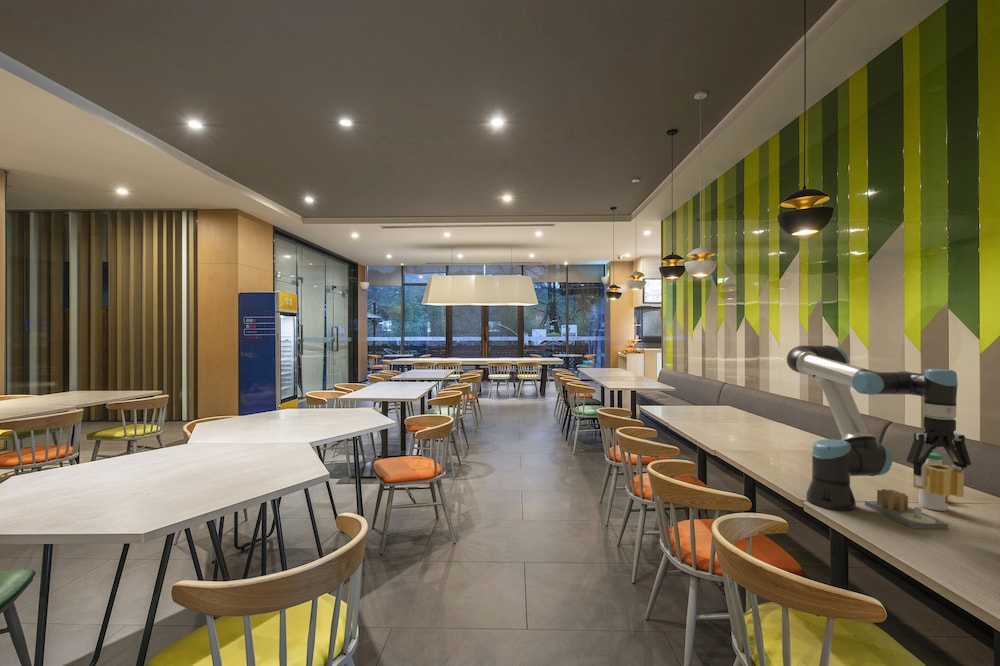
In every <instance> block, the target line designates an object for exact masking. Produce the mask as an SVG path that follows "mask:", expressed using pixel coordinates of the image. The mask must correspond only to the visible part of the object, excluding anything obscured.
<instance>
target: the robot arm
mask: <svg viewBox="0 0 1000 666" xmlns="http://www.w3.org/2000/svg"><path fill="white" fill-rule="evenodd" d="M786 363H787V366H788V368H790V369H791V370H792V371H794V372H796V373H800V374H802V375H812V377H813V379H814V381H816V382H818V383H820V385H821V388H822V391H823V394H824V396H825V398H826V401H827V404H828V405H829V409H830V411H831V414H832V416H833V418H834V421H835V423H836V425H837V428H838V431H839V433H840V436H841V439H831V438H829V439H828V438H827V439H820V440H816V441H815V442H814V443H813V445H812V451H811V455H812V456H811V457H812V458H811V459H812V460H811V461H812V463H811V464H812V465H811V468H812V469H811V473H812V474H811V482H810V484H809V486H808V489H807V490H806V495H805V497H806V501H807V502H809V503H811V504H813V505H816V506H818V507H822V508H825V509H830V510H834V511H853V510H855V509H856V503H857V502H856V499H855V496H854V493H853V491H852V488H851V477H856V476H857V477H860V476H861V477H862V476H864V477H866V476H869V477H876V476H883V475H885V474H887V473H888V472H889V471H890V470H891V467H892V466H893V455H892V453H891V451H890V449H889V447H887V446H885V445H884V444H882V443H879V442H878V440H877V438H876V436H874V435H873V434H870V433H869V431H868V429H867V427H866V425H865V423H864V419H863V417H862V415H861V413H860V410H859V409H858V405H857V404H856V401H855V399H854V397H853V395H852V391H851V390H850V388H849V387H851V388H853V389H854V390H855V391H856V392H857V393H859V394H861V395H862V394H863V395H870V396H873V395H874V396H875V395H910V396H911V395H912V396H918V397H923V415H925V416H923V428H924V432H923V433H919V432H914V434H913V442H912V444H911V447H910V450H909V453H908V455H907V458H906V462H907V463H910V464H912V465H913V476H914V475H915V484H916V485H919V486H921V487H925V467H924V466H922V465H923V464H924V463H926V459H927V458H928V457H929V455H930V454H931V453H933V450H936V449H937V448H940V447H942V448H943V449H944V450H945V452H946V453H947V455H948V457H949V458H950V460H951V461H952V463H953V464H950V466H952V468H954V469H961V470H964V469H967V468H968V466H971V464H972V463H971V459H970V456H969V452H968V450H967V446H966V443H965V440H966V436H965V435H964V434H959V433H955V432H956V430H957V420H956V418H957V396H958V395H957V393H958V386H959V383H958V375H957V372H956V371H955V370H953V369H946V368H945V369H943V368H927V369H925V370H924V373H920V372H910V371H898V370H897V371H891V372H890V371H888V372H887V371H886V372H885V371H884V372H882V371H875V370H871V369H867V368H862V367H859V366H856V365H852V364H849V363H850V361H849V357H848V355H847V353H846V352H845V350H844V349H842V348H841V347H838V346H835V345H799V346H796V347H793V348H792V349H791V350H790V351H789V352H788V353H787V356H786Z"/></svg>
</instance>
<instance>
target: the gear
mask: <svg viewBox="0 0 1000 666" xmlns="http://www.w3.org/2000/svg"><path fill="white" fill-rule="evenodd" d="M922 466H924V467H925V487H921V486H919V485H916V484H915V475H914V474H913V485H912V486H913V488H915V489H917V490H919V489H923V490H924V491H925V492H927V493H933V494H936V495H942V496H948V497H950V496H954V497H960V498H961V497H962V498H963V497H964V492H965V489H964V486H965V484H964V483H965V470H964V469H963V470H961V469H954V468H952V466H951V465H949V464H936V463H929V462H928V463H926V462H924V464H923V465H922Z"/></svg>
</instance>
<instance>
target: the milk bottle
mask: <svg viewBox="0 0 1000 666" xmlns="http://www.w3.org/2000/svg"><path fill="white" fill-rule="evenodd" d="M928 462H929V463H936V464H942V462H943V455H942V454H939V453H937V452H931V454H930V455H929V457H928V458H927V459H926V461H925V463H928ZM942 465H943V464H942ZM918 490H919V491H918V504H919V506H921V507H923V508H924V509H928V510H931V511H938V512H946V511H948V506H949V505H948V504H949V503H948V501H949V500H948V498H949V496H942V495H936V494H933V493H927V492H925V491H924V490H923V489H918Z"/></svg>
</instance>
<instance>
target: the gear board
mask: <svg viewBox="0 0 1000 666" xmlns="http://www.w3.org/2000/svg"><path fill="white" fill-rule="evenodd" d="M876 491H877V492H876V493H877V494H876V495H877V497H876V501H875V500H864V506H867V507H869V508H870V509H872V510H874V511H876V512H878V513H881V514H882V515H884V516H886V517H889V518H891V519H892V520H893V521H894V520H895V521H896V522H898V523H900V522H901V524H902V523H903V525H904V524H905V526H906V525H907V527H908V526H909V528H910V527H913V528H912V529H939V530H940V529H945V530H948V529H949V524H948V523H947V522H944V521H942V520H940V519H938V518H935V517H934V516H930V515H928V514H926V513H924V512H922V508H921V507H918V506H914V507H911V506H909V496H908V495H907V493H904V492H900V491H897V490H894V489H886V488H885V489H884V488H883V489H877V490H876Z"/></svg>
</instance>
